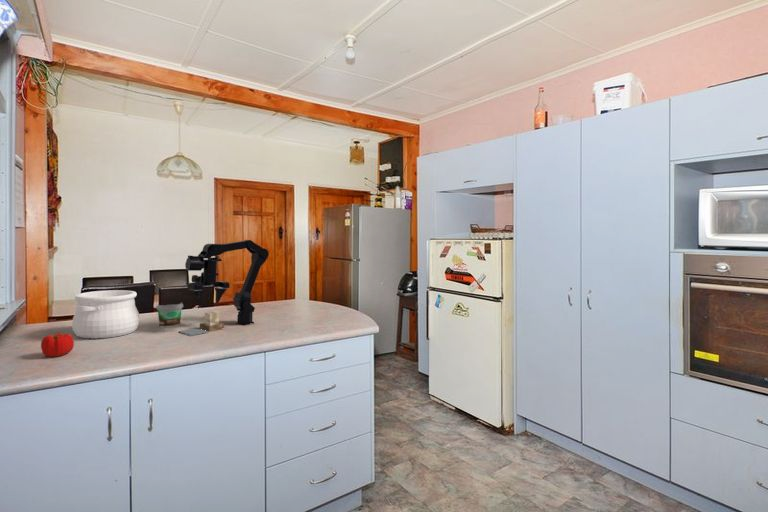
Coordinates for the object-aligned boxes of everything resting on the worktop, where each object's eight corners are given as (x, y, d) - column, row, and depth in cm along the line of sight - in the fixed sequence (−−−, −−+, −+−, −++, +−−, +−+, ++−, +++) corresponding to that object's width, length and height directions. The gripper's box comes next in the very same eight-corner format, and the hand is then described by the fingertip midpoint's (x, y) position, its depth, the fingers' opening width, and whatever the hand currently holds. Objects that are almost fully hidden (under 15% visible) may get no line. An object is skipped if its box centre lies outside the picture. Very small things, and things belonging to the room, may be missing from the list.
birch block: (213, 327, 192) (213, 310, 191) (219, 328, 189) (219, 312, 189) (204, 329, 188) (204, 312, 187) (210, 330, 185) (210, 313, 185)
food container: (162, 327, 188) (162, 306, 188) (156, 325, 192) (156, 304, 192) (188, 323, 198) (188, 303, 198) (182, 321, 202) (182, 301, 201)
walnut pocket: (214, 326, 194) (214, 321, 194) (224, 328, 189) (224, 323, 189) (199, 329, 187) (199, 323, 187) (208, 331, 183) (208, 326, 183)
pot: (104, 343, 161) (104, 299, 160) (55, 338, 166) (54, 296, 165) (153, 328, 187) (153, 291, 186) (109, 324, 192) (109, 288, 191)
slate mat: (195, 329, 187) (195, 327, 187) (208, 332, 182) (208, 331, 181) (178, 332, 181) (178, 331, 181) (191, 336, 175) (191, 334, 175)
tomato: (79, 351, 150) (78, 331, 149) (60, 359, 141) (60, 338, 140) (53, 351, 149) (53, 331, 149) (33, 358, 140) (32, 337, 140)
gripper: (216, 268, 199) (214, 300, 199) (180, 269, 183) (179, 303, 183) (231, 270, 193) (229, 303, 194) (196, 271, 177) (194, 306, 178)
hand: (208, 303), depth 187 cm, fingers open, 9 cm apart
